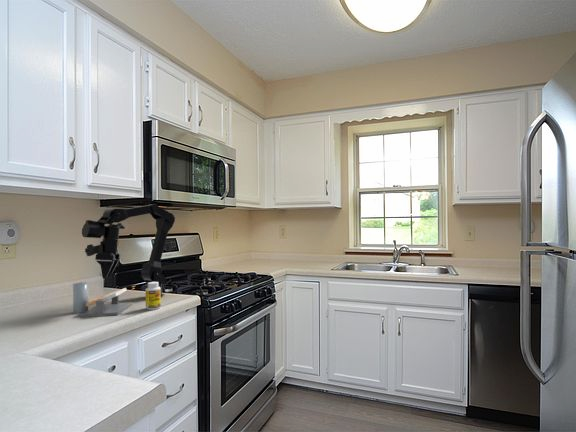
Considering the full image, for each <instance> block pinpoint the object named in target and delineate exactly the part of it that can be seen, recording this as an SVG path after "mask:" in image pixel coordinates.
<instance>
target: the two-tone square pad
mask: <svg viewBox="0 0 576 432" xmlns="http://www.w3.org/2000/svg"><path fill="white" fill-rule="evenodd" d="M125 292H127V287H124V288H121V289H118V290H115V291H112V292H110V293H107V294H103V295H101V296H98V297H97V298H95V299H92V300H91V301H88V303H86V306H87V307H88V308H89V307H90V306H93V305H96V301H97V300H104V303H106V302H108V301H111V300H112V298H113V297H116V296H118V295H122V294H124V293H125Z"/></svg>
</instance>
